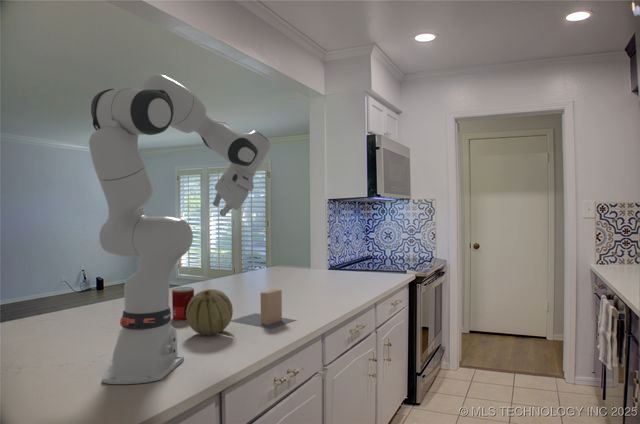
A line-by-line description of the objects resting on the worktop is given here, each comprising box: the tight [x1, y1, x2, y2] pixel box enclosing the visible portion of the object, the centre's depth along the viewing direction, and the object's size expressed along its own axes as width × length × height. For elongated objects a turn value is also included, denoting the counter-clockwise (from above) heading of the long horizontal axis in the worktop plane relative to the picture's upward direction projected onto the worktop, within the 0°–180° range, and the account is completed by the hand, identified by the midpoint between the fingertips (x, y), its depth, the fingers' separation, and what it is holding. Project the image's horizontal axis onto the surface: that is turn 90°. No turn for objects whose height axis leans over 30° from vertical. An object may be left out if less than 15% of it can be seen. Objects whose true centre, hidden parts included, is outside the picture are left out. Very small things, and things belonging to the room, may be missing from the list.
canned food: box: [171, 286, 195, 321], centre depth 168 cm, size 8×8×11 cm
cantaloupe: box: [186, 289, 234, 336], centre depth 145 cm, size 15×15×15 cm
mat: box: [230, 312, 297, 330], centre depth 161 cm, size 20×14×1 cm
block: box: [260, 288, 283, 325], centre depth 158 cm, size 3×8×11 cm, turn 146°
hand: (218, 210), depth 153 cm, fingers open, 8 cm apart
